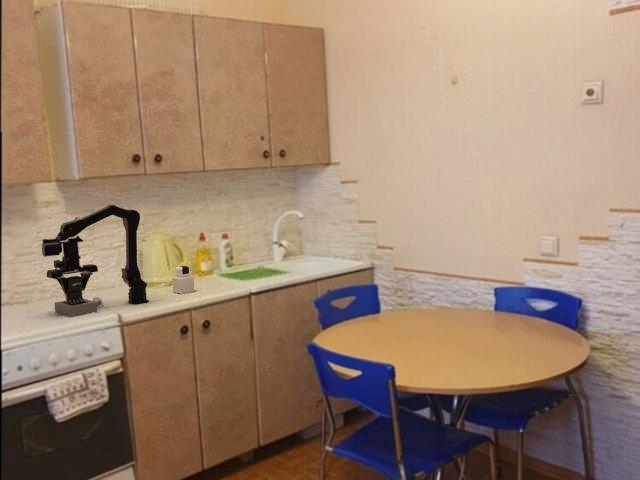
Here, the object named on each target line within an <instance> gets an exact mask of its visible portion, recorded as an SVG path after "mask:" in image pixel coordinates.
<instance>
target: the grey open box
mask: <svg viewBox="0 0 640 480" xmlns="http://www.w3.org/2000/svg"><path fill="white" fill-rule="evenodd" d="M53 304H54V313H57V314H58V315H62V316H65V317H69V318H73V317H78V316H79V317H80V316H83V314H84V315H87V313H89V314H93V313H92V312H94V313H97V312H98V308H97V307H98V305H97V301H94V300H89V299H86V298H83V303H82V304H78V305H73V306H72V305H68V304H66V300H62V301H57V302H54V303H53Z"/></svg>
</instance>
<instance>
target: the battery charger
mask: <svg viewBox="0 0 640 480" xmlns="http://www.w3.org/2000/svg"><path fill="white" fill-rule="evenodd" d="M66 287H67V294H65V293H64V296H65V301H66V304H68V305H77V304H81V303H83V299H84V298H83V290H82V288H84V286H83V279H82V277H81V275H80V276H79V275H72V276H68V277H66Z"/></svg>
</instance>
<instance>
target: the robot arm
mask: <svg viewBox="0 0 640 480" xmlns="http://www.w3.org/2000/svg"><path fill="white" fill-rule="evenodd" d="M111 216H113V217H114V216H115V217H117V218H120V219H122V224H123V227H124V231H125V253H126V254H125V256H126V258H125V260H126V261H125V262H126V263H125V267H124V268H123V267H122V268H121V279H122V280H123V282H124V283H125V284H127V286H128V287H129V289H128V295H127V296H128V301H127V302H128V303H130V304H134V305H137V304H138V305H139V304H144V303H149V302H150V301H149V300H148V298H147V286H148V283H147V282H145V281H144V280H143V279H142V276H141V271H140V269H139V266H138V241H137V240H138V228H139V226H140V222H141V221H140V220H141V213H140V212H138V210H135V209H131V208H130V209H126V208H122V207H119V206H116V205H114V204H108V205H107V206H105V207H102V208H101V209H98V210H96V211H94V212H92V213H90V214H88V215H86V216H84V217H82V218H79V219H73V220H70V221H66V222H64V223H62V224H61V225H60V228H59V229H60V230H59V232H58V234H57V235H56V237H55V238H48V239H47V238H43V239H42V243H41V245H42V246H41V252H42V256H43V257H44V258H45V257H54V256H59V255H60V254H62V253H63V256H62V257H61V259H62V260H60V259H55V260H53V267H54V269H48V270H47V271H46V278H48V279H53V280H55V281H57V282H58V284H59V285H60V288H61V290H62V292H63V293H64V295H65V294H67V287H66V278H67V277H65V276H64V275H70V274H78V273H79V274H80V277H82V279H83V286H84V288H82V292H84V291H85V289H86V288H87V285H88V282H89V280H90V278H91V277H92V275H94V273H99V268H98V266H97V264H94V263H93V264H92V263H88V264H83V265H82V266H81V262H80V259H81V255H80V251H79V250H80V249H79V243H80V242H81V243H82V242H84V239H82V238H81V237H80V236H79V234H81V232H84V230H85V229H86V228H88V227H91V225H94V224H96V223H98V222H101V221H102V220H104V219H106V218H109V217H111Z"/></svg>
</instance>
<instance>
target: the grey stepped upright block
mask: <svg viewBox="0 0 640 480" xmlns="http://www.w3.org/2000/svg"><path fill="white" fill-rule="evenodd" d="M174 271H175V276H172V278H171V280H172V281H171V282H172V293H173V292H174V294H178V293H179V294H178V295H185V294H184V293H186V294H189V293H188V292H191V293H194V292H195V283H194V282H195V280H194V278H195V277H194V276H191V275H190V267H189V266H188V265H179V266H177V267H175V270H174Z"/></svg>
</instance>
